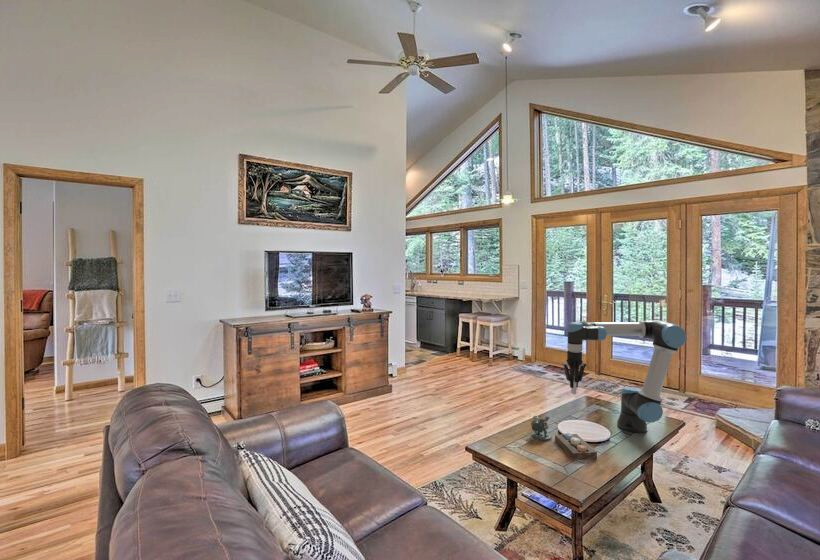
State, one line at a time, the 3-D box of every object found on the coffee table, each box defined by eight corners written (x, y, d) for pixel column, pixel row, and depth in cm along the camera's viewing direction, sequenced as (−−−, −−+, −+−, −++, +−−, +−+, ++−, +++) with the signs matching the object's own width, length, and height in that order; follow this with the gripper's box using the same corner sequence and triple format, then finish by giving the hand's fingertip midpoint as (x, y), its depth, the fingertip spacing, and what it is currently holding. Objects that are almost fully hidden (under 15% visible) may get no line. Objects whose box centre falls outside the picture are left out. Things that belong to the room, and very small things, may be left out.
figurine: (552, 441, 215) (553, 420, 214) (532, 440, 217) (532, 418, 217) (550, 433, 226) (550, 412, 225) (530, 431, 228) (530, 411, 227)
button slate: (570, 438, 215) (570, 433, 215) (574, 442, 211) (575, 436, 211) (562, 438, 215) (563, 433, 215) (566, 442, 211) (567, 437, 210)
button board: (576, 440, 217) (576, 433, 217) (596, 459, 197) (597, 452, 197) (554, 441, 216) (555, 434, 216) (573, 460, 196) (573, 453, 196)
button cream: (576, 442, 209) (577, 437, 209) (581, 446, 204) (581, 441, 204) (568, 443, 208) (569, 437, 208) (573, 447, 204) (573, 441, 204)
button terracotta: (583, 450, 202) (583, 444, 202) (588, 454, 198) (588, 448, 198) (575, 450, 202) (575, 444, 202) (579, 455, 198) (579, 449, 197)
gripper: (582, 348, 222) (581, 390, 224) (559, 349, 221) (559, 391, 223) (589, 352, 215) (588, 395, 216) (566, 352, 213) (565, 396, 215)
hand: (573, 393), depth 219 cm, fingers closed
